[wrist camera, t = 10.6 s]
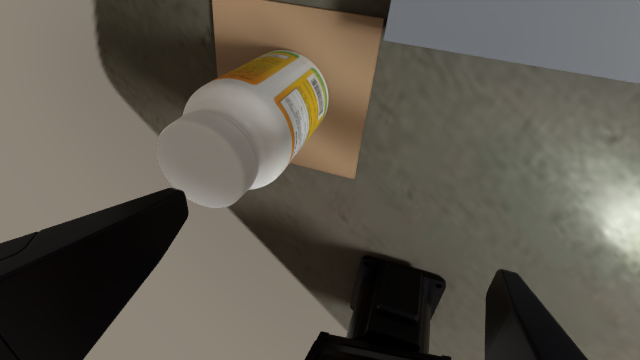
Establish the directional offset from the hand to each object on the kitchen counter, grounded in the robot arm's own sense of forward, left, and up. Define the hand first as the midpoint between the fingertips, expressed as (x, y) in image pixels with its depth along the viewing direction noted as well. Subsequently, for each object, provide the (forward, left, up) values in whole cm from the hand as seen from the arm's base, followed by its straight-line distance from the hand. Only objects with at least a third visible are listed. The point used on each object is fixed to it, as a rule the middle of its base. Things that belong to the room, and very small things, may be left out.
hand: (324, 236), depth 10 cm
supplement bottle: (-1, +6, -13) cm, 14 cm away
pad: (-1, +6, -13) cm, 14 cm away
